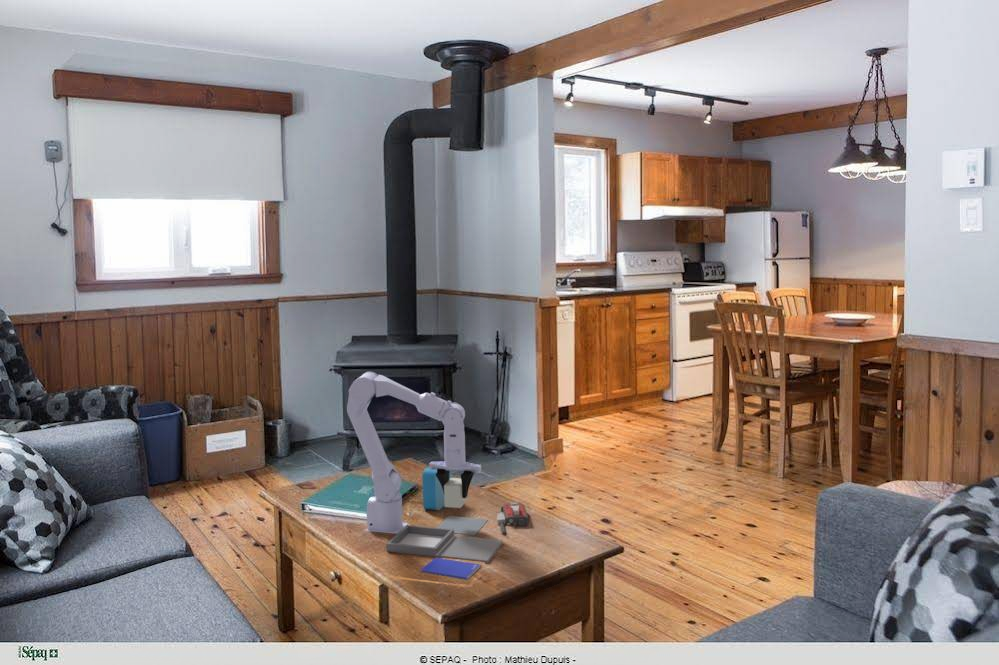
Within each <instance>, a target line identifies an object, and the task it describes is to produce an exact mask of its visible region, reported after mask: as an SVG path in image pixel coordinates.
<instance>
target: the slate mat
mask: <svg viewBox="0 0 999 665" xmlns="http://www.w3.org/2000/svg"><path fill="white" fill-rule="evenodd" d="M487 522H489V519H488V518H487V519H486V518H477V517H476V518H475V517H465V516H454V515H453V516H452V515H448V516H447V517H446V518H445V519H444V520H443V521H442V522H441V523H440V524H439V525H438V526H437V527H436V528H445V529H454V535H455V534H457V535H466V536H468V535H469V536H476V535H477V534H478V533H479V531H481V529H483V527H484V526H485V525H486V523H487Z"/></svg>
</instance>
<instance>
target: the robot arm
mask: <svg viewBox="0 0 999 665" xmlns="http://www.w3.org/2000/svg"><path fill="white" fill-rule="evenodd" d="M436 394H437V393H435V392H433V391H432V392H430V393H429V392H424V393H421V394H420V393H419V392H417V391H414V390H413V389H411V388H408V387H406V386H405V385H403V384H401V383H398V382H396V381H394V380H393V379H390V378H388V377H387V376H385V375H382V374H377V373H376V372H373V371H366V372H364V373H362V374H361V376H359V377H357V378H356V379H355V380H354V381H353V382H352V383H351V385H350V387H349V388H348V399H347V403H346V404H347V405H346V413H347V415H348V418H349V420H350V422H351V424H352V427H353V429H354V431H355V434H356V437H357V438H358V441H359V443H360V446H361V448H362V451H363V453H364V455H365V458H366V460H367V462H368V464H369V467H370V469H371V480H372V483H373V493H374V496H371V497H369V499H368V500H367V504H366V527H367V528H366V529H365V531H366V532H373V533H374V532H375V533H383V534H384V533H385V534H395V535H397V534H398V533H399V532H400V531H401V530H402V529H403V528H404V527H405V526H407V525H409V523H408V522H403V520H404V519H403V497H402V496H403V495H402V493H401V491H400V489H401V487H402V485H403V477H402V475H401V473H400V472H399V471H397V470H396V468H395V466H394V464H393V463H392V462H390V461H389V458H388V457H387V454H386V452H385V450H384V446H383V445H382V442H381V439H380V438H379V435H378V433H377V430H376V428H375V426H374V423H373V421H372V419H371V417H370V414H369V412H368V411H369V410H368V407H369V405H370V403H371V402H372V399H373V397H374V396H375V397H376V398H379V397H384V396H385V397H386V396H391V397H393V398H396V399H398V400H401V401H403V402H406V403H409V404H411V405H413V406H415V408H416V409H417V412H418V413H420V414H423V415H425V416H427V417H430V418H431V419H434V420H437V421H439V422H442V424H443V426H444V429H443V430H444V431H443V446H444V447H443V449H444V450H443V451H444V452H443V456H444V461H443V460H442V461H431V462H429V464H428V467H429V470H437V473H436V477H437V478H438V480H439V482H440V484H441V486H442V489H443V492H444V485H445V484H446V483H447V482H448V481H449V474H450V471H452V472H462V473H460V478H461V481H462V497H463V498H466V497H467V498H468V494H469V488H470V485H471V482H472V479H473V477H474V475H475V474H477V475H478V474H480V473H482V464H477V463H471V462H468V461H467V462H466V435H465V432H466V431H465V424H464V420H465V417H466V410H465V409H464V407H463V406H462V405H461V404H459V403H458V402H452V400H445V399H443V398H440V397H438V396H436Z"/></svg>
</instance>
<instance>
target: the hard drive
mask: <svg viewBox="0 0 999 665" xmlns="http://www.w3.org/2000/svg"><path fill="white" fill-rule="evenodd" d="M481 567H482V564H477V563H473V562H467V561H459V560H454V559H449V558H442V557H433V559H432V560H431V561H430V562H428V563H427V564H425V566H423V567H422V568H421V570H420V572H421V573H426V574H433V575H437V576H443V577H450V578H457V579H460V580H461V579H462V580H468V579H470V577H471V576H473V575H474V573H475V572H477V571H478V570H479V569H480V568H481Z"/></svg>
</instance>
